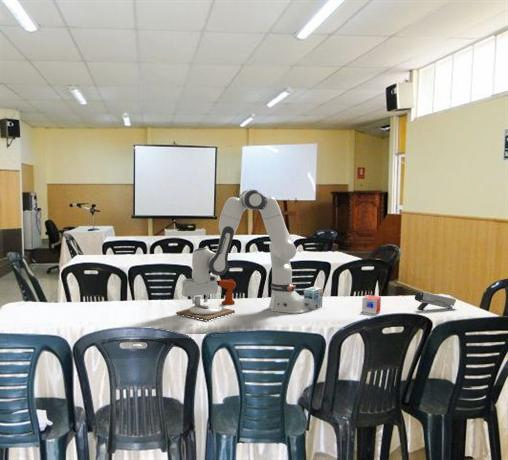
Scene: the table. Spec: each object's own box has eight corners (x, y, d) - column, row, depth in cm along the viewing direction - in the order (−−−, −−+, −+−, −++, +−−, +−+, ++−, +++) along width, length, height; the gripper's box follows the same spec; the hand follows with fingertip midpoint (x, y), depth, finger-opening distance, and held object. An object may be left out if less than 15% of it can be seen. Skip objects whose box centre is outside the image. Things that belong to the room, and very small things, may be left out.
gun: (411, 307, 270) (415, 290, 270) (449, 315, 275) (454, 298, 275) (413, 308, 268) (417, 291, 267) (452, 316, 273) (456, 299, 272)
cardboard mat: (234, 312, 257) (234, 309, 257) (207, 321, 240) (207, 318, 239) (203, 306, 270) (203, 304, 270) (176, 314, 252) (176, 311, 252)
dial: (228, 310, 255) (228, 299, 254) (203, 316, 243) (203, 304, 242) (207, 305, 267) (207, 294, 266) (183, 310, 255) (183, 298, 254)
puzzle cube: (380, 310, 267) (380, 296, 266) (376, 313, 260) (376, 299, 259) (366, 308, 271) (366, 294, 270) (361, 311, 264) (362, 297, 263)
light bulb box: (313, 309, 267) (313, 290, 266) (302, 308, 271) (303, 289, 270) (322, 306, 275) (323, 287, 274) (312, 304, 279) (312, 286, 278)
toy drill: (201, 301, 278) (205, 275, 277) (233, 304, 281) (237, 279, 280) (202, 303, 273) (205, 277, 272) (234, 306, 276) (238, 280, 276)
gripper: (184, 280, 251) (184, 306, 252) (219, 277, 261) (219, 302, 262) (179, 278, 256) (179, 303, 257) (214, 275, 267) (213, 300, 268)
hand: (199, 303), depth 260 cm, fingers open, 5 cm apart
